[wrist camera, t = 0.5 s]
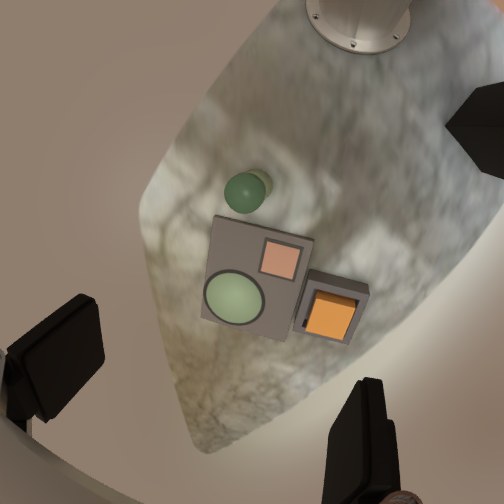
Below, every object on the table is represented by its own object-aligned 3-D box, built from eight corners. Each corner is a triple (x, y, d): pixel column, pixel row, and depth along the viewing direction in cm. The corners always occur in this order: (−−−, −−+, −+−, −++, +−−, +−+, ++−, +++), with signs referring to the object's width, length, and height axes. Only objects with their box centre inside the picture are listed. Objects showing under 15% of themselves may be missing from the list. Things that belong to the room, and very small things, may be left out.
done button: (317, 289, 39) (316, 298, 36) (354, 298, 38) (355, 308, 36) (306, 320, 41) (305, 330, 38) (342, 329, 40) (342, 340, 38)
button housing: (309, 269, 40) (308, 279, 37) (367, 284, 39) (370, 295, 36) (294, 318, 43) (292, 330, 40) (348, 331, 42) (348, 344, 39)
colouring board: (215, 214, 40) (213, 216, 39) (314, 239, 38) (313, 242, 38) (202, 314, 47) (199, 318, 46) (284, 338, 45) (283, 343, 44)
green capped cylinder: (242, 165, 37) (227, 170, 32) (276, 172, 36) (266, 179, 31) (236, 197, 39) (221, 208, 33) (269, 205, 38) (259, 217, 33)
